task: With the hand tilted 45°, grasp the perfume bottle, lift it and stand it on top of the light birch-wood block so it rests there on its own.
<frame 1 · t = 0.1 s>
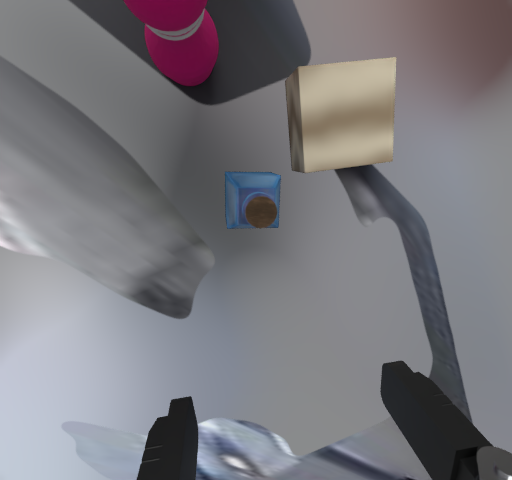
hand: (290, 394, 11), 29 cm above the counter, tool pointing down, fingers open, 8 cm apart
perfume bottle: (247, 194, 38), on the counter
birch block: (328, 123, 37), on the counter
pepper mill: (187, 57, 32), on the counter
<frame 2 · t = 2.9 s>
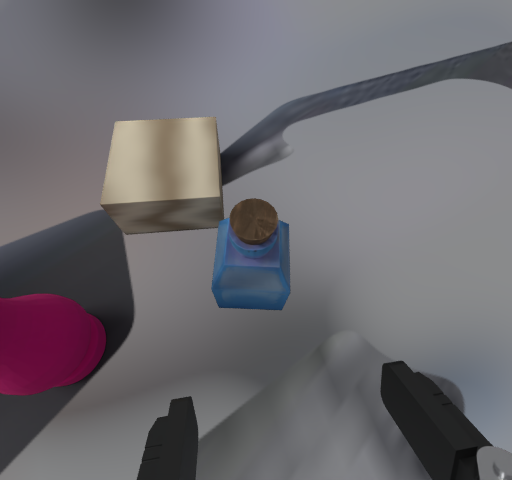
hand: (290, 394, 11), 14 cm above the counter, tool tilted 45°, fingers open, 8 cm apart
perfume bottle: (251, 279, 29), on the counter
birch block: (177, 191, 34), on the counter
pepper mill: (72, 347, 25), on the counter
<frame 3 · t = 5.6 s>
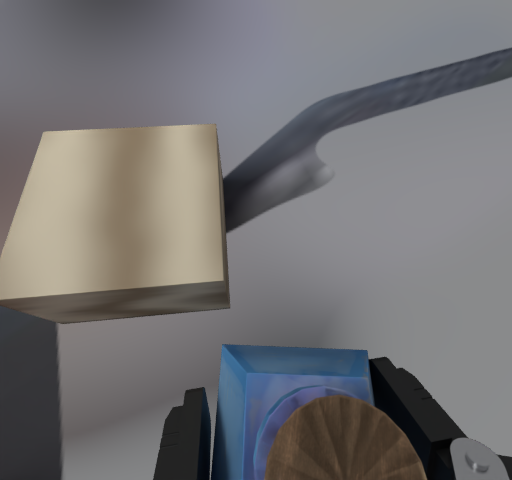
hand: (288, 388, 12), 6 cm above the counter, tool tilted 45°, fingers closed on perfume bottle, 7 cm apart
perfume bottle: (279, 415, 16), on the counter, touching gripper
birch block: (153, 243, 21), on the counter
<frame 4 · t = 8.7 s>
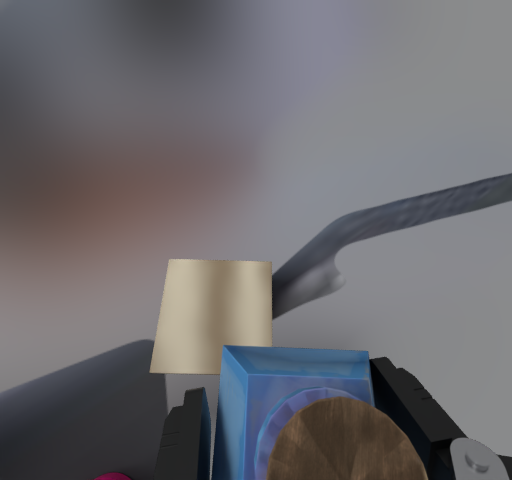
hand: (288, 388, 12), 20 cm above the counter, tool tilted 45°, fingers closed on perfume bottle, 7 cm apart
perfume bottle: (279, 416, 16), point 14 cm above the counter, touching gripper
birch block: (221, 322, 32), on the counter
when the fingers open (13 cm above the counter, at t = 11.6 s): perfume bottle drops 2 cm, resting on birch block.
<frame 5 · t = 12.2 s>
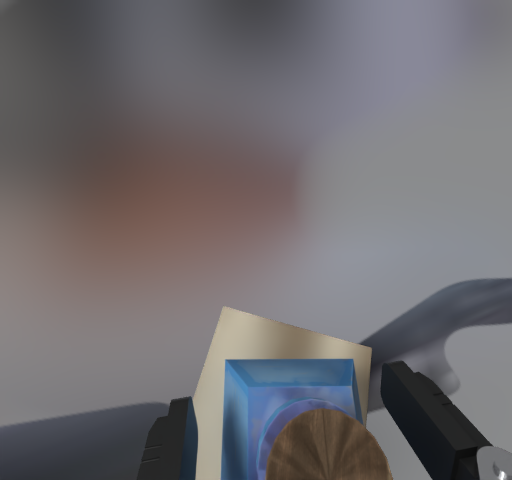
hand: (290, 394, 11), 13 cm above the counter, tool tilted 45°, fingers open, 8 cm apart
perfume bottle: (279, 417, 18), point 5 cm above the counter, touching birch block
birch block: (271, 404, 23), on the counter, touching perfume bottle
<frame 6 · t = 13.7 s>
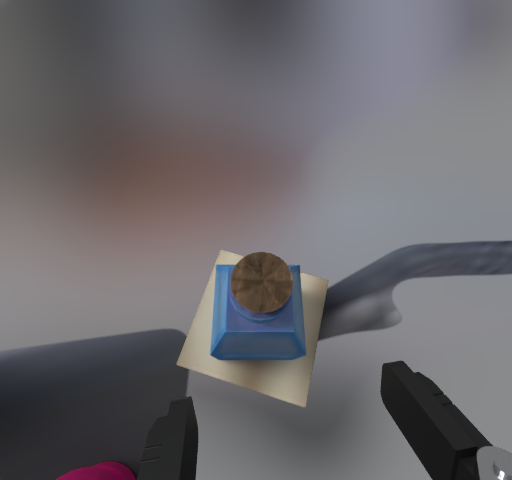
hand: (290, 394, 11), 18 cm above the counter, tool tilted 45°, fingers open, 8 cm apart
perfume bottle: (255, 322, 25), point 6 cm above the counter
birch block: (256, 329, 30), on the counter
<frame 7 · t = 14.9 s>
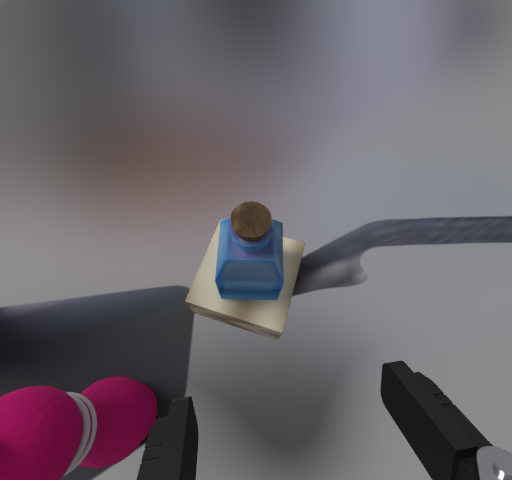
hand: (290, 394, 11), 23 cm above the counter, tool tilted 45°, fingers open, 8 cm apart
perfume bottle: (250, 273, 32), point 5 cm above the counter
birch block: (248, 286, 37), on the counter
pepper mill: (129, 413, 30), on the counter
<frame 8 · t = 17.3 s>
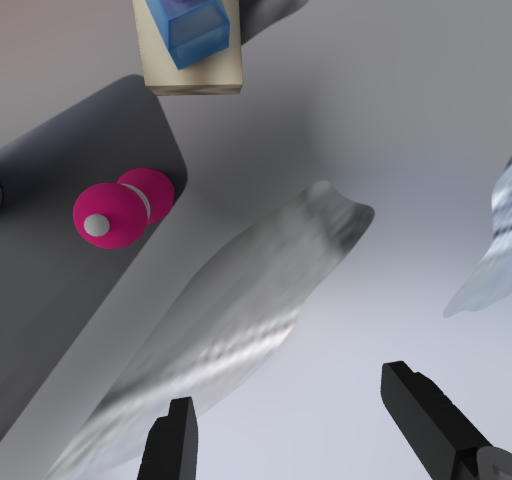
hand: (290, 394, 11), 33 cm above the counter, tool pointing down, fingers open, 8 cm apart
perfume bottle: (190, 28, 30), point 5 cm above the counter, touching birch block
birch block: (194, 47, 35), on the counter, touching perfume bottle
pepper mill: (152, 191, 40), on the counter
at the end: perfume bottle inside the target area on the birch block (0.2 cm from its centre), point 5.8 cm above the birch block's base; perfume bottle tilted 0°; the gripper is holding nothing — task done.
